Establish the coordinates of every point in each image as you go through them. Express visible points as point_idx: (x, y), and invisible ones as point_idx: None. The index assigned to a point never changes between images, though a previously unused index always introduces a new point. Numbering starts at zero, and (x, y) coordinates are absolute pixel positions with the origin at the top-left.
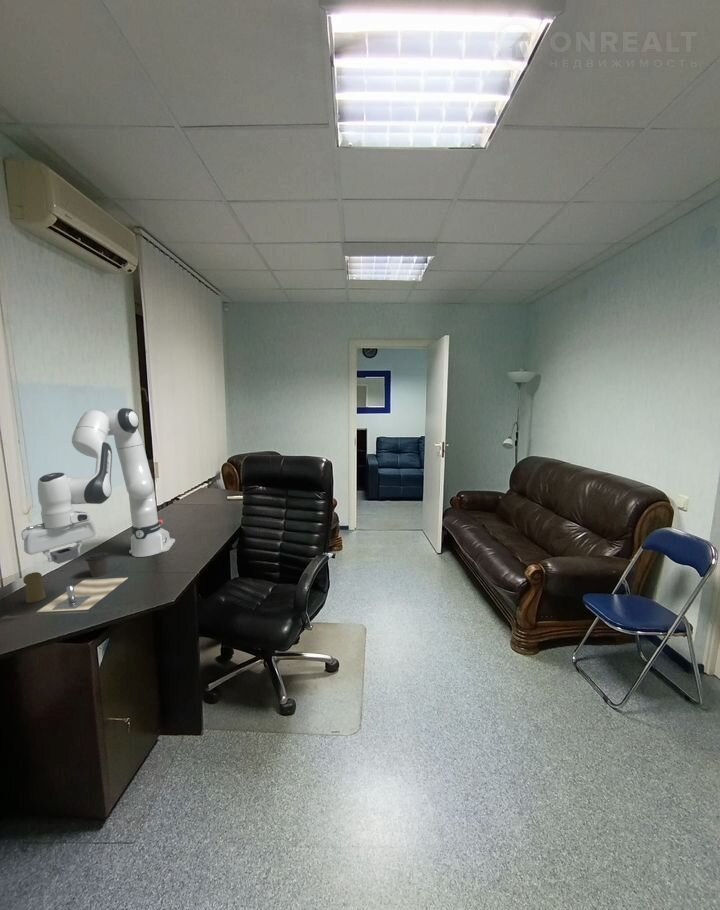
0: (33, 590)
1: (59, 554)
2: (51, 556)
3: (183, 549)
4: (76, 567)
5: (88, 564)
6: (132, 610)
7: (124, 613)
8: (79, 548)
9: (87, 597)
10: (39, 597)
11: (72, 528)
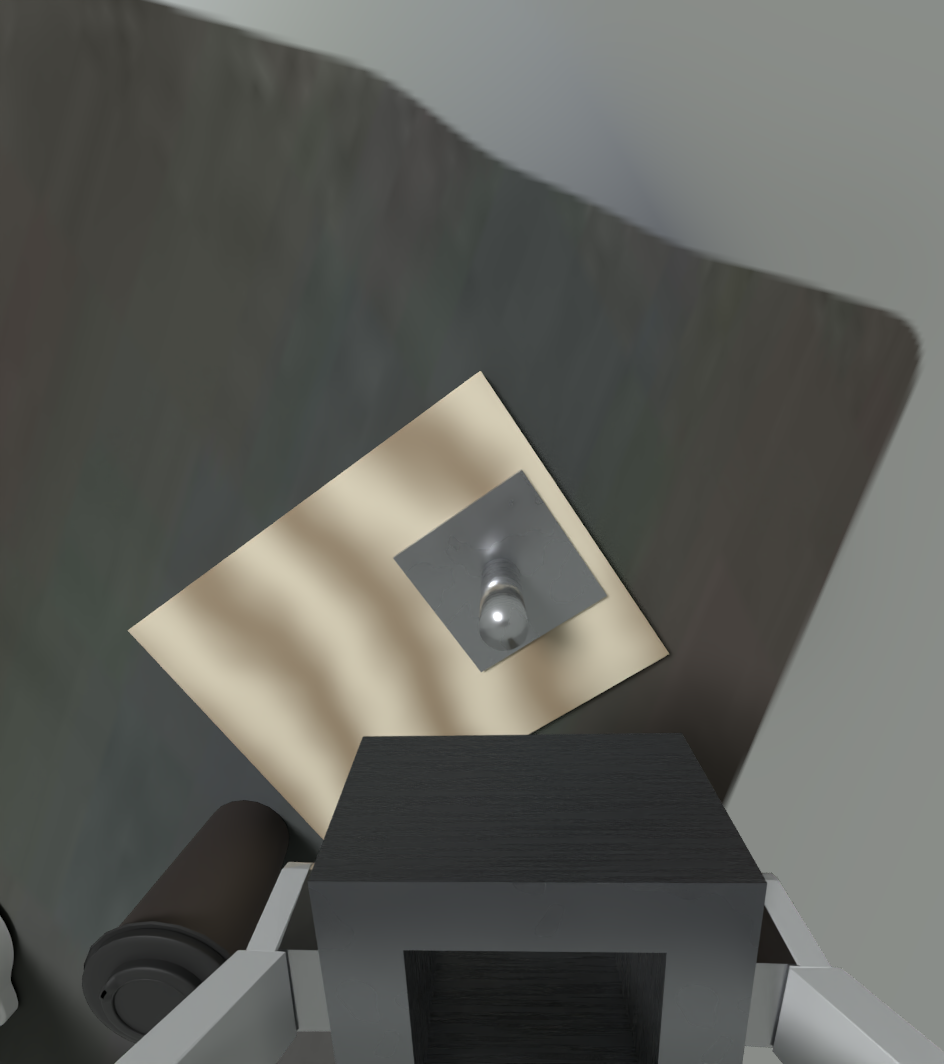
0: None
1: (702, 906)
2: (777, 988)
3: None
4: (295, 1054)
5: None
6: (284, 75)
7: (339, 86)
8: (246, 952)
9: (416, 554)
10: None
11: None
